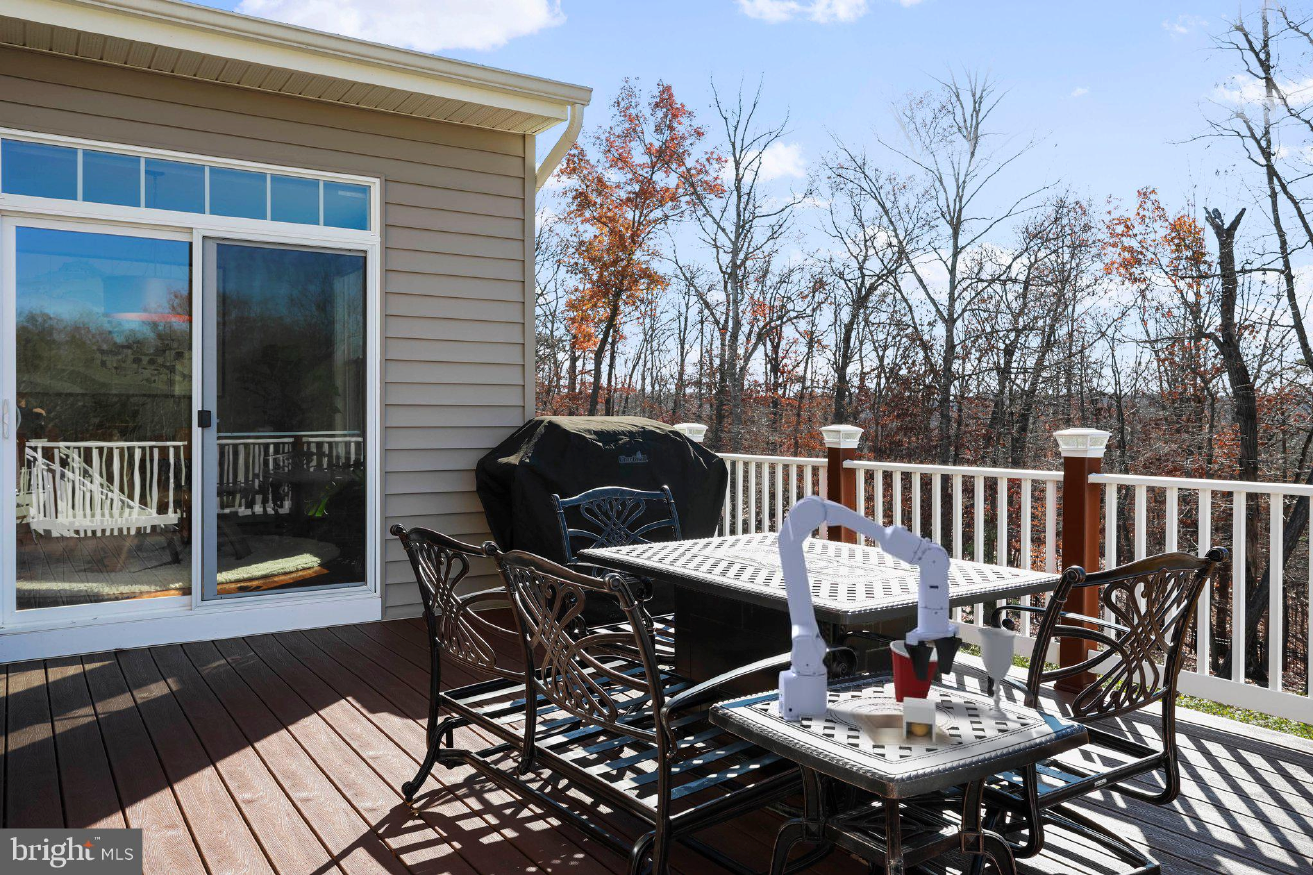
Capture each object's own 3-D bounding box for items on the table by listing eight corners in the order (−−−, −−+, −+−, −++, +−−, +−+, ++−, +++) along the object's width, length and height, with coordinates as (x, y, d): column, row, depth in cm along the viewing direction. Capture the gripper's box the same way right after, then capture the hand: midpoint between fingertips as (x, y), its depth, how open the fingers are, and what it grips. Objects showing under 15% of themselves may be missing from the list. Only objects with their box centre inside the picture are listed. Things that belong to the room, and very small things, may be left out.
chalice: (969, 719, 169) (969, 629, 169) (995, 715, 172) (995, 626, 172) (998, 731, 162) (998, 637, 162) (1024, 726, 165) (1024, 634, 165)
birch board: (875, 751, 151) (875, 743, 151) (849, 720, 168) (849, 713, 168) (958, 750, 152) (958, 743, 152) (924, 719, 169) (924, 713, 169)
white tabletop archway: (903, 738, 154) (903, 705, 155) (903, 728, 160) (903, 697, 160) (935, 742, 153) (935, 708, 153) (935, 732, 158) (935, 699, 158)
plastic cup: (927, 718, 171) (933, 659, 170) (876, 703, 177) (882, 646, 177) (945, 704, 180) (950, 649, 179) (895, 690, 186) (900, 637, 185)
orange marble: (914, 738, 155) (914, 721, 155) (908, 732, 158) (908, 716, 158) (930, 738, 155) (930, 721, 155) (924, 732, 158) (924, 716, 158)
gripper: (928, 614, 157) (928, 687, 157) (973, 605, 166) (972, 675, 166) (897, 608, 163) (896, 679, 163) (941, 600, 172) (941, 667, 172)
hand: (933, 676), depth 165 cm, fingers open, 7 cm apart
